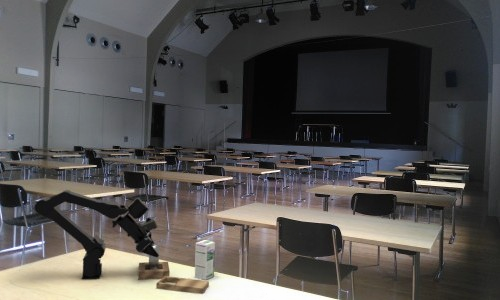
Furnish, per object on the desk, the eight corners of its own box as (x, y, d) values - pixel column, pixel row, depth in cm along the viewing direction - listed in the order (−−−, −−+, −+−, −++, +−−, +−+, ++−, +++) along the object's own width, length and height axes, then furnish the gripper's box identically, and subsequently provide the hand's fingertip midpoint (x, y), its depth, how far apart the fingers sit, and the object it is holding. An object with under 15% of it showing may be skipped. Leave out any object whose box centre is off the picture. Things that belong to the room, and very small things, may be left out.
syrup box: (205, 280, 167) (207, 244, 167) (194, 277, 170) (195, 241, 170) (214, 276, 172) (215, 241, 171) (202, 273, 175) (204, 239, 175)
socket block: (138, 279, 165) (138, 272, 165) (138, 269, 177) (138, 262, 176) (169, 278, 168) (169, 271, 168) (167, 268, 179) (167, 261, 179)
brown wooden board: (156, 288, 157) (156, 283, 157) (164, 281, 165) (164, 275, 165) (202, 293, 154) (202, 288, 153) (208, 286, 161) (208, 281, 161)
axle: (151, 276, 169) (152, 246, 169) (146, 273, 172) (147, 244, 172) (160, 274, 172) (161, 245, 171) (155, 271, 175) (156, 243, 174)
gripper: (145, 217, 161) (173, 245, 164) (145, 208, 179) (171, 233, 182) (123, 238, 159) (152, 265, 163) (125, 226, 178) (151, 252, 181)
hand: (157, 253), depth 172 cm, fingers open, 9 cm apart
